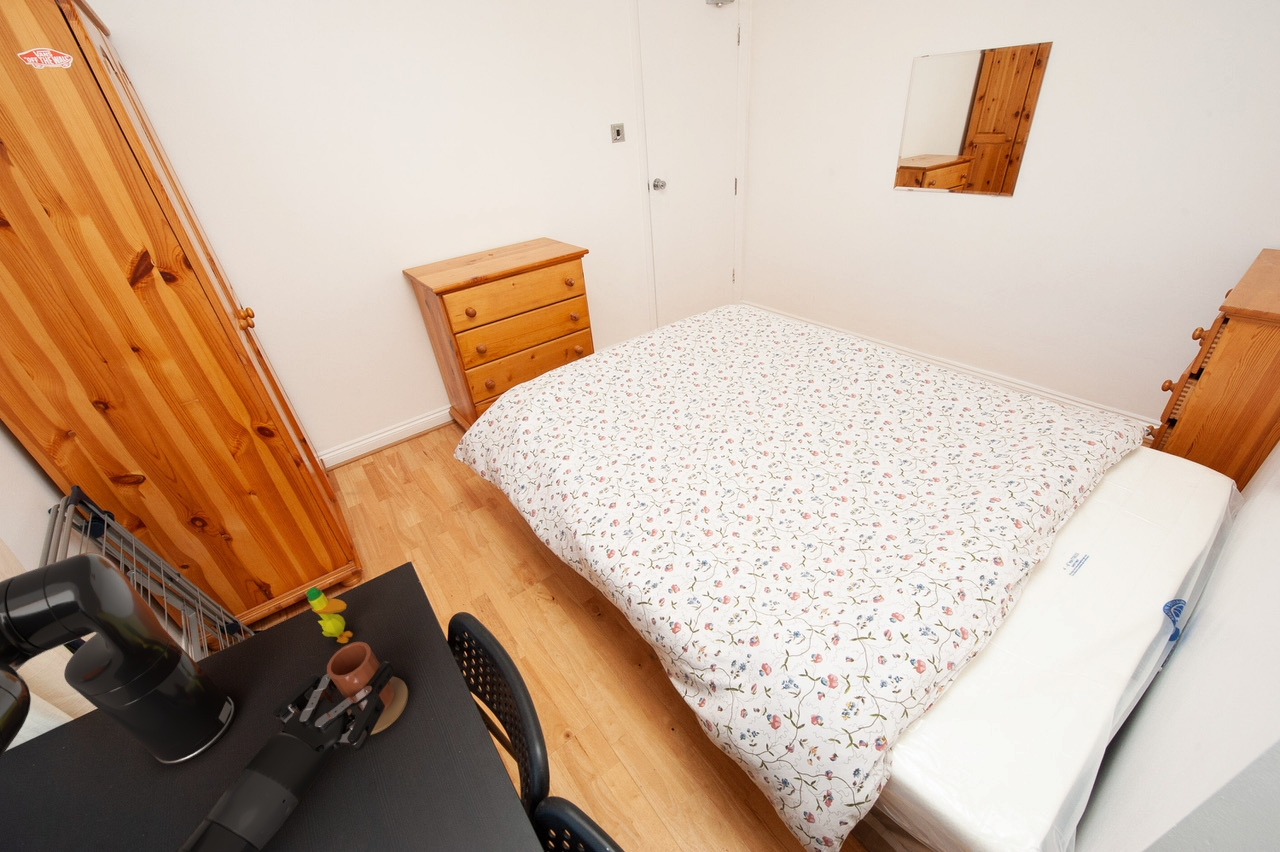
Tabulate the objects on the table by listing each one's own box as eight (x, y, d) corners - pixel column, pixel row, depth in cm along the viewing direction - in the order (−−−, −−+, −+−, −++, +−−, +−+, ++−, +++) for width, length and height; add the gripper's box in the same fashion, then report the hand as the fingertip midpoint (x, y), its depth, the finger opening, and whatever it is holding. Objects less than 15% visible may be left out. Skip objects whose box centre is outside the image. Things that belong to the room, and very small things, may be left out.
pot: (346, 713, 71) (317, 673, 66) (373, 678, 76) (348, 638, 70) (376, 723, 70) (349, 683, 65) (402, 687, 74) (378, 646, 69)
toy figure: (370, 629, 85) (342, 582, 79) (358, 648, 82) (328, 601, 76) (334, 628, 86) (304, 581, 80) (321, 647, 83) (288, 600, 77)
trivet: (334, 726, 72) (332, 724, 71) (376, 672, 78) (374, 670, 78) (381, 742, 69) (379, 740, 69) (420, 685, 76) (419, 683, 76)
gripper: (301, 793, 54) (405, 655, 68) (208, 756, 58) (324, 632, 72) (328, 823, 58) (422, 686, 72) (240, 786, 62) (344, 663, 76)
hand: (372, 660), depth 72 cm, fingers closed on pot, 5 cm apart
